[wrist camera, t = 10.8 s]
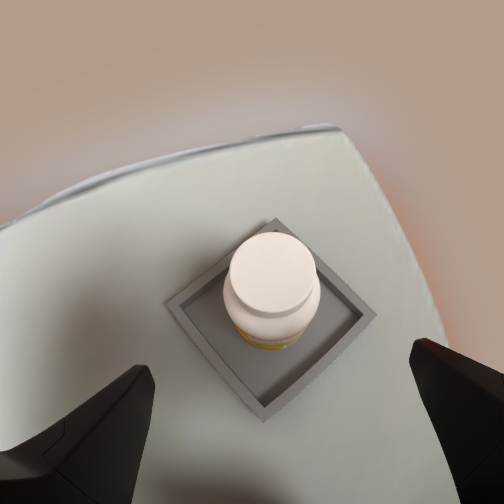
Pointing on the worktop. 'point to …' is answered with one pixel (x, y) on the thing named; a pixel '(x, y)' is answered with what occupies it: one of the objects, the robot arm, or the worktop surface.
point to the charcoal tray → (261, 361)
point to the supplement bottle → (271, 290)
